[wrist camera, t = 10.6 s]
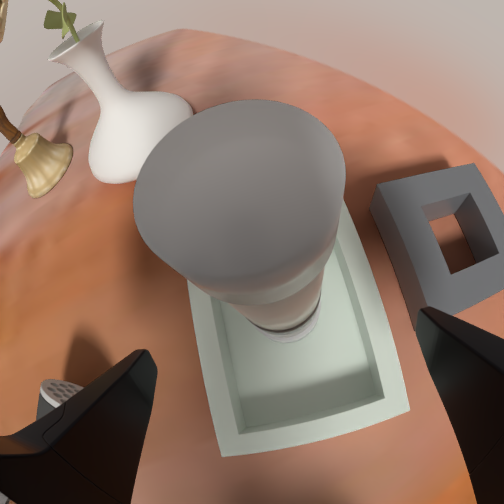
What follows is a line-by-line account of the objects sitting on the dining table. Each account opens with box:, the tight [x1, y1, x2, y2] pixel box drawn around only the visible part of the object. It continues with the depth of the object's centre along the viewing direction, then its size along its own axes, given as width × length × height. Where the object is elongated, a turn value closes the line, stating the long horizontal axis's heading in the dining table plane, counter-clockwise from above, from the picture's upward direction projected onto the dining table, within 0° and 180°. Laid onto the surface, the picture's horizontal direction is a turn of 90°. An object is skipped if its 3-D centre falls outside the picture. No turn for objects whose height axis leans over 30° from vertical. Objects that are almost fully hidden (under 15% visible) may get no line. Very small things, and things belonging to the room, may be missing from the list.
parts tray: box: [187, 199, 410, 457], centre depth 16 cm, size 13×10×3 cm
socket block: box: [369, 163, 504, 331], centre depth 16 cm, size 9×9×3 cm
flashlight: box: [36, 379, 84, 421], centre depth 13 cm, size 15×5×5 cm, turn 164°
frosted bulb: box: [133, 100, 346, 343], centre depth 11 cm, size 4×4×13 cm
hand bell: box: [0, 106, 73, 198], centre depth 22 cm, size 8×8×16 cm
